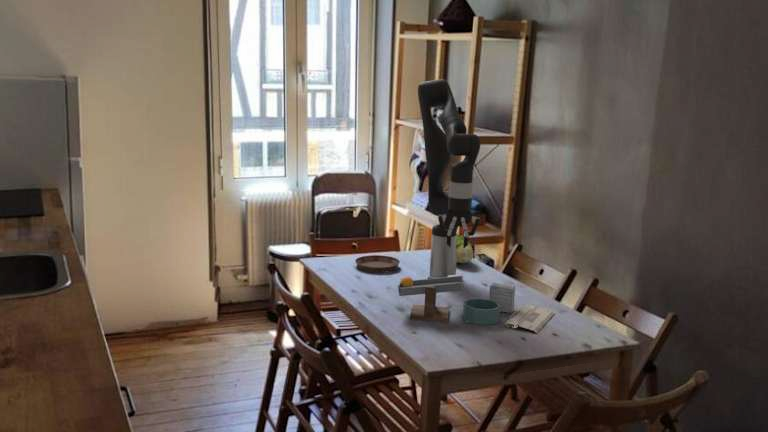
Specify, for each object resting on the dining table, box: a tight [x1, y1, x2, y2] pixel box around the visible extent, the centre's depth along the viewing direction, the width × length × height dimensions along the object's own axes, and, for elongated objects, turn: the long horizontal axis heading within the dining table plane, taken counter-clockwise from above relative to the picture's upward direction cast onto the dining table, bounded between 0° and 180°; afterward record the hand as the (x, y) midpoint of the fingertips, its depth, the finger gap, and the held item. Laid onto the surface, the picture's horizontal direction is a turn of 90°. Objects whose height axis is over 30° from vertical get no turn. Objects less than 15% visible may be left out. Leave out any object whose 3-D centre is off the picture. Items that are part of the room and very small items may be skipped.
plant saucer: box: [354, 254, 400, 273], centre depth 281 cm, size 18×18×3 cm
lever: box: [397, 273, 464, 297], centre depth 232 cm, size 15×20×5 cm
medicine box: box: [488, 282, 516, 314], centre depth 236 cm, size 8×4×9 cm, turn 71°
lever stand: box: [409, 276, 450, 323], centre depth 229 cm, size 11×12×11 cm
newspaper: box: [503, 304, 556, 334], centre depth 229 cm, size 23×12×2 cm, turn 152°
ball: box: [401, 276, 414, 288], centre depth 229 cm, size 4×4×4 cm
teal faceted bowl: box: [462, 297, 501, 326], centre depth 228 cm, size 11×12×5 cm
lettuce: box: [455, 233, 474, 264], centre depth 292 cm, size 12×21×11 cm, turn 21°
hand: (457, 246), depth 233 cm, fingers open, 4 cm apart
